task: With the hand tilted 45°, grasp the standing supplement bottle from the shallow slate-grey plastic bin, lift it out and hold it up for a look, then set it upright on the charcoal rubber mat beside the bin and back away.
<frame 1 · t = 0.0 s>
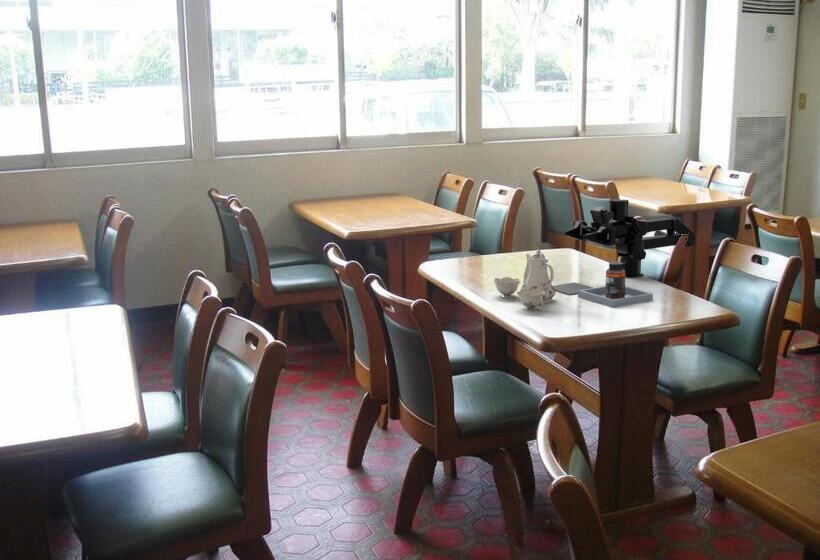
hand: (574, 235, 293), 17 cm above the table, tool horizontal, fingers open, 9 cm apart
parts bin: (614, 298, 277), on the table
chinaware: (528, 302, 276), on the table
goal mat: (571, 289, 290), on the table
supplement bottle: (614, 299, 278), resting in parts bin
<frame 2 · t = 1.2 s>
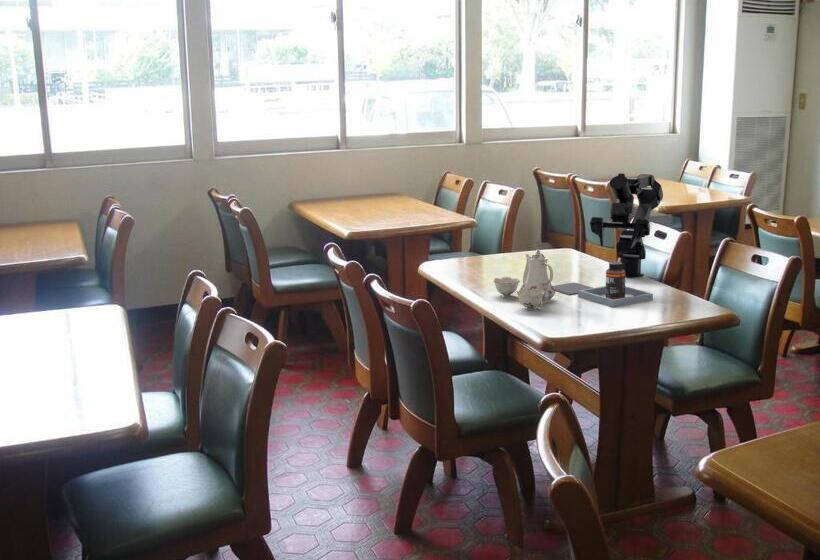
hand: (615, 247, 286), 14 cm above the table, tool tilted 45°, fingers open, 9 cm apart
nothing on the table moved.
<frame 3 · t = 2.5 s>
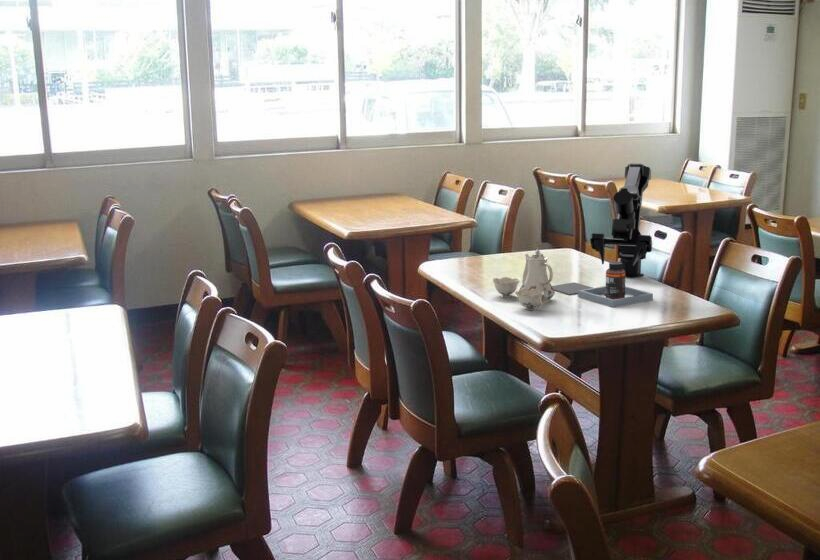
hand: (617, 264, 278), 10 cm above the table, tool tilted 45°, fingers open, 9 cm apart
nothing on the table moved.
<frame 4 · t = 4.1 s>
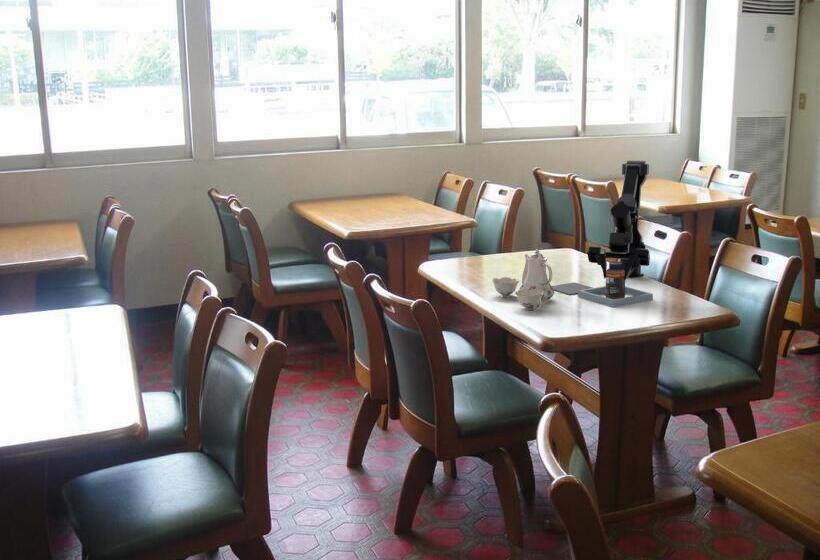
hand: (614, 278, 275), 7 cm above the table, tool tilted 45°, fingers closed on supplement bottle, 6 cm apart
supplement bottle: (614, 299, 278), resting in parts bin, touching gripper
everything else where it was.
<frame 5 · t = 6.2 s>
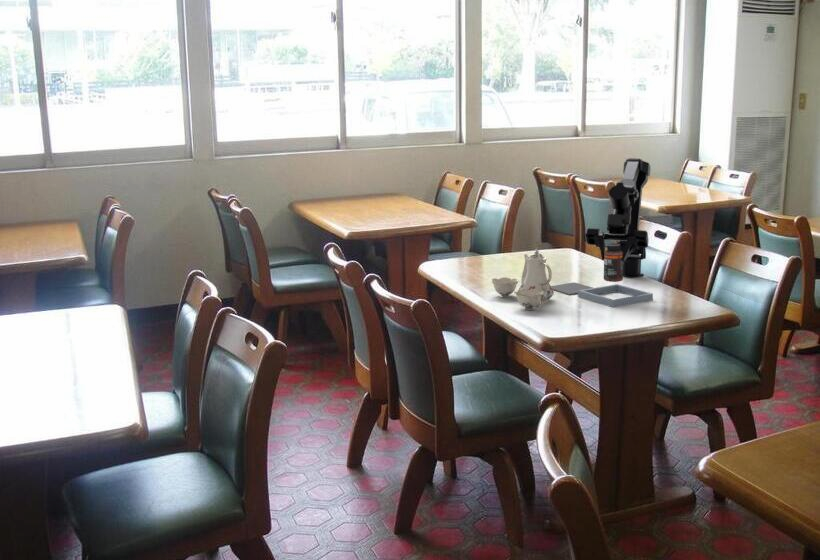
hand: (612, 260, 274), 12 cm above the table, tool tilted 45°, fingers closed on supplement bottle, 6 cm apart
supplement bottle: (613, 280, 277), point 5 cm above the table, touching gripper
everything else where it was.
when the fingers open (8 cm above the table, at t = 8.8 s): supplement bottle drops 1 cm, resting on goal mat.
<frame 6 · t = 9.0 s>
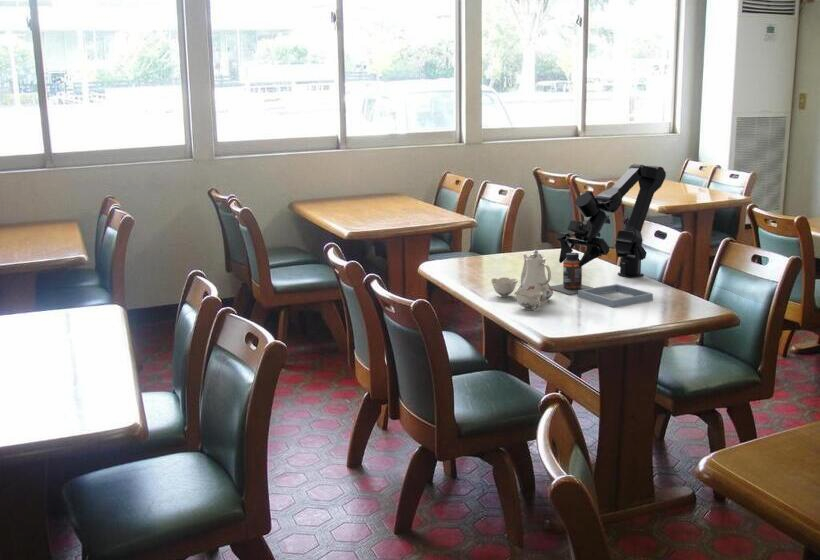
hand: (569, 264, 288), 9 cm above the table, tool tilted 45°, fingers open, 8 cm apart
supplement bottle: (572, 288, 290), resting on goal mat
everything else where it was.
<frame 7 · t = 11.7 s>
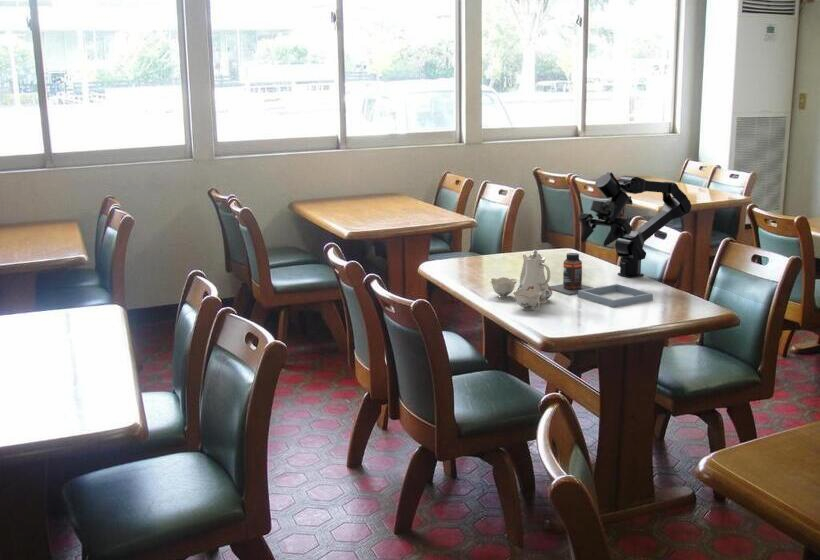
hand: (592, 243, 295), 14 cm above the table, tool tilted 45°, fingers open, 9 cm apart
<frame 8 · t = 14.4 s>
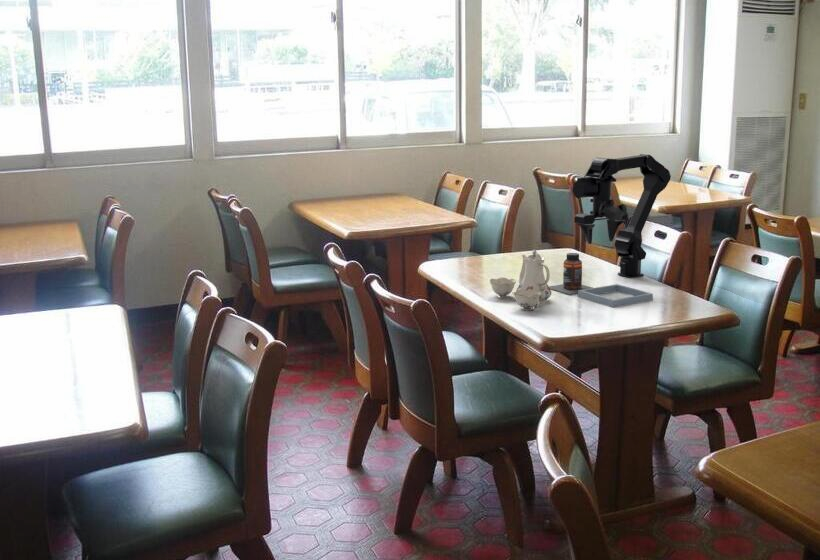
hand: (600, 242, 300), 13 cm above the table, tool pointing down, fingers open, 9 cm apart
at the end: supplement bottle inside the target area on the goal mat (0.1 cm from its centre), point 0.2 cm above the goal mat's base; supplement bottle tilted 0°; the gripper is holding nothing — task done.
